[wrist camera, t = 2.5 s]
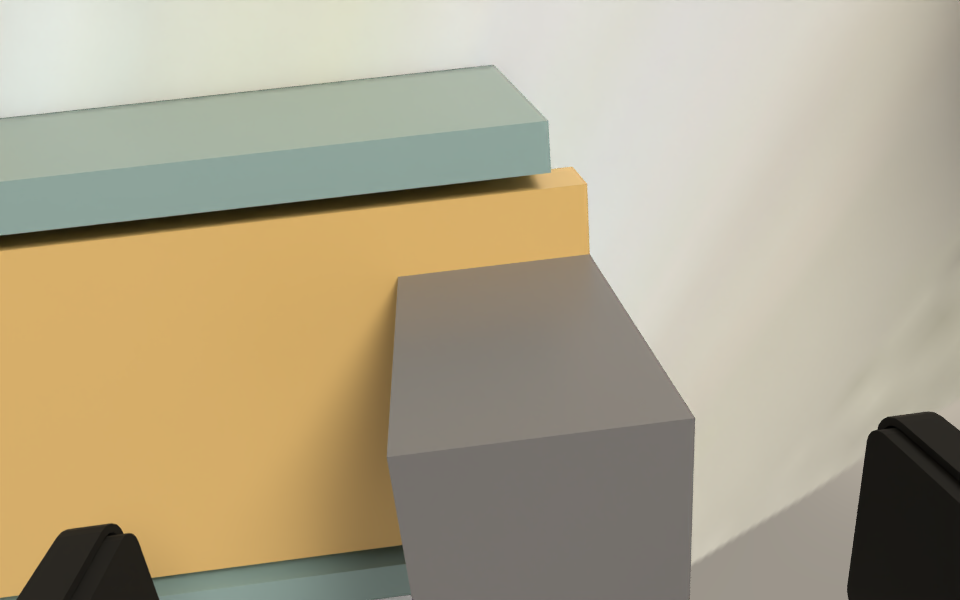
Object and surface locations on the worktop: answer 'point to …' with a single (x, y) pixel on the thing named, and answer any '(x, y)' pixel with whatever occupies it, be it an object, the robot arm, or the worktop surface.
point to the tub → (265, 181)
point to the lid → (347, 394)
